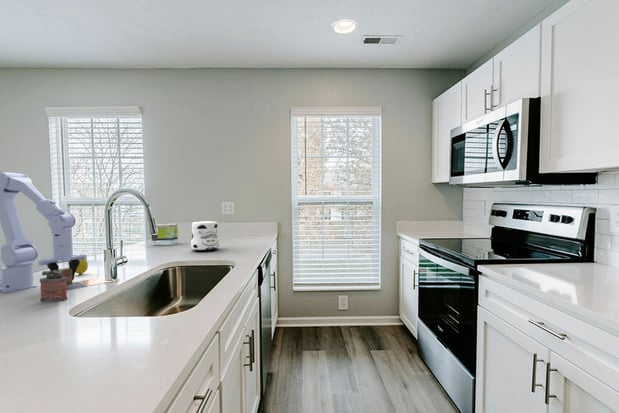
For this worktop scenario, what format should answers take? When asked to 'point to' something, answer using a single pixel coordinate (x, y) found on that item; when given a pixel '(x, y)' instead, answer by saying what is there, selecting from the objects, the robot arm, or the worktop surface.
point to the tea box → (166, 235)
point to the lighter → (53, 287)
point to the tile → (95, 281)
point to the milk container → (204, 236)
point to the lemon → (82, 267)
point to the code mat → (75, 286)
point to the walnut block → (67, 275)
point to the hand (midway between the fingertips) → (64, 281)
